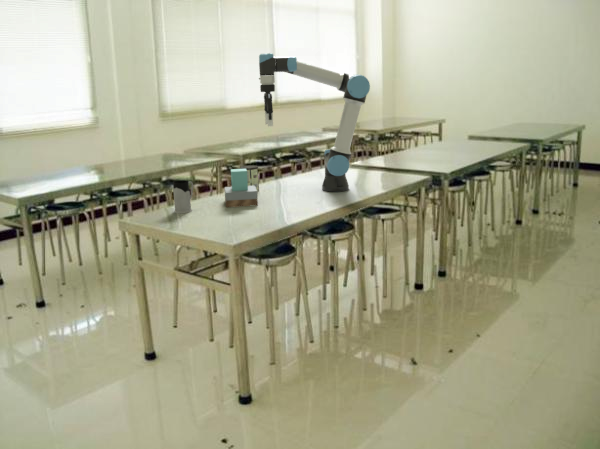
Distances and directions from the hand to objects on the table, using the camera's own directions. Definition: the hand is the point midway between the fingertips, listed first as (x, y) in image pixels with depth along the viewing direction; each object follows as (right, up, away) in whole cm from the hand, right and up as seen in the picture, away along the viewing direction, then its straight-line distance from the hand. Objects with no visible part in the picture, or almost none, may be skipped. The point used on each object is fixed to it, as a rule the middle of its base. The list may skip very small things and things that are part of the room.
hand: (269, 125), depth 313 cm
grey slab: (-15, -38, -5) cm, 41 cm away
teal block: (-15, -34, -6) cm, 38 cm away
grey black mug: (-41, -46, -16) cm, 63 cm away
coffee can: (-12, -33, +28) cm, 45 cm away
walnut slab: (-15, -42, -4) cm, 45 cm away
